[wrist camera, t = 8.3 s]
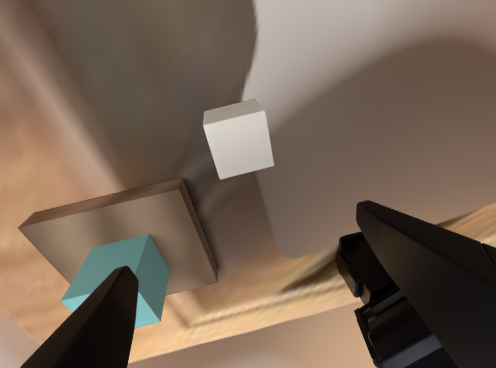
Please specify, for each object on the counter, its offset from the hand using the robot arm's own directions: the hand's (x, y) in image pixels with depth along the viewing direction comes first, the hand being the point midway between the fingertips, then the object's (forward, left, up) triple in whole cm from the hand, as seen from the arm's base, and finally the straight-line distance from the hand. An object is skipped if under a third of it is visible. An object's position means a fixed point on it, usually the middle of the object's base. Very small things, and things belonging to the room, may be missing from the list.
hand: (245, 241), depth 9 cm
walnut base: (+11, +8, -12) cm, 18 cm away
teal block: (+11, +8, -10) cm, 17 cm away
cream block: (-1, -1, -12) cm, 12 cm away
